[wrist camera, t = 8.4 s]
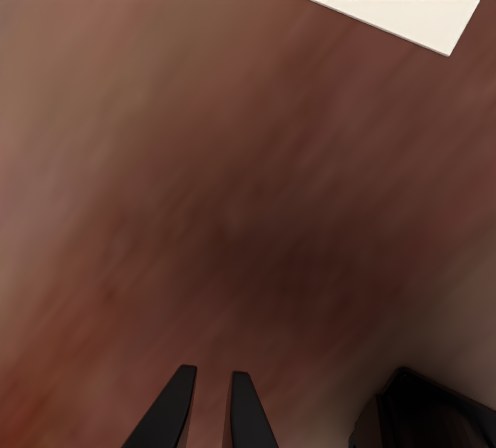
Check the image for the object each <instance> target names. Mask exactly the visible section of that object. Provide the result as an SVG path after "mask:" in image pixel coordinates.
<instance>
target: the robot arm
mask: <svg viewBox="0 0 496 448" xmlns="http://www.w3.org/2000/svg"><path fill="white" fill-rule="evenodd" d="M403 375H406V376H408V378H407V379H402V378H401V377H402V376H403ZM196 377H197V367H196V366H193V365H185V364H183V365H181V366H180V367H179V368H178V369H177V371H176V372H175V373H174V375H173V376H172V378H171V379H170V380H169V382H168V383H167V385H166V386H165V387H164V389H163V390H162V391H161V393H160V394H159V396H158V397H157V398H156V400H155V401H154V402H153V404H152V405H151V407H150V408H149V409H148V411H147V412H146V414H145V415H144V416H143V418H142V419H141V420H140V422H139V423H138V425H137V426H136V427H135V429H134V430H133V431H132V433H131V434H130V436H129V437H128V438H127V440H126V441H125V443H124V444H123V445H122V447H121V448H186V443H187V437H188V431H189V424H190V418H191V412H192V406H193V399H194V393H195V386H196ZM348 443H349V448H496V412H494V411H492V410H490V409H488V408H486V407H484V406H482V405H480V404H478V403H476V402H474V401H472V400H471V399H469V398H467V397H465V396H463V395H461V394H459V393H457V392H455V391H453V390H451V389H449V388H447V387H445V386H443V385H441V384H439V383H437V382H435V381H433V380H431V379H429V378H427V377H425V376H423V375H421V374H419V373H417V372H415V371H413V370H411V369H409V368H406V367H400V368H398V369H397V370H396V371H395V372H394V374H393V375H392V377H391V378H390V380H389V381H388V383H387V384H386V385H385V387H384V388H383V390H382V391H381V393H378V394H375V395H374V396H373V398H372V399H371V401H370V402H369V404H368V405H367V407H366V408H365V410H364V411H363V413H362V414H361V416H360V417H359V418H358V420H357V421H356V423H355V431H354V432H353V434H352V435H351V437H350V438H349V441H348ZM355 444H356V446H355ZM222 448H279V447H278V444H277V442H276V439H275V437H274V434H273V432H272V429H271V427H270V424H269V422H268V419H267V417H266V414H265V412H264V410H263V407H262V405H261V402H260V400H259V397H258V395H257V392H256V390H255V387H254V385H253V382H252V380H251V377H250V375H249V374H248V373H247V372H242V371H233V372H232V374H231V379H230V384H229V390H228V396H227V404H226V414H225V423H224V433H223V442H222Z"/></svg>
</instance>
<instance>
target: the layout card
mask: <svg viewBox="0 0 496 448" xmlns="http://www.w3.org/2000/svg"><path fill="white" fill-rule="evenodd" d="M310 1H313V2H315V3H318V4H320V5H322V6H325V7H327V8H330V9H332V10H335V11H337V12H339V13H342V14H344V15H347V16H349V17H352V18H354V19H356V20H359V21H361V22H364V23H366V24H369V25H371V26H373V27H376V28H378V29H381V30H383V31H386V32H388V33H390V34H393V35H395V36H398V37H400V38H402V39H405V40H407V41H410V42H412V43H415V44H417V45H419V46H422V47H424V48H427V49H429V50H432V51H434V52H436V53H439V54H441V55H444V56H446V57H448V56H450V54H451V52H452V50H453V48H454V47H455V45H456V43H457V41H458V39H459V38H460V36H461V34H462V32H463V30H464V28H465V27H466V25H467V23H468V21H469V19H470V18H471V16H472V14H473V12H474V10H475V8H476V7H477V5H478V3H479V1H480V0H310Z"/></svg>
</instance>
